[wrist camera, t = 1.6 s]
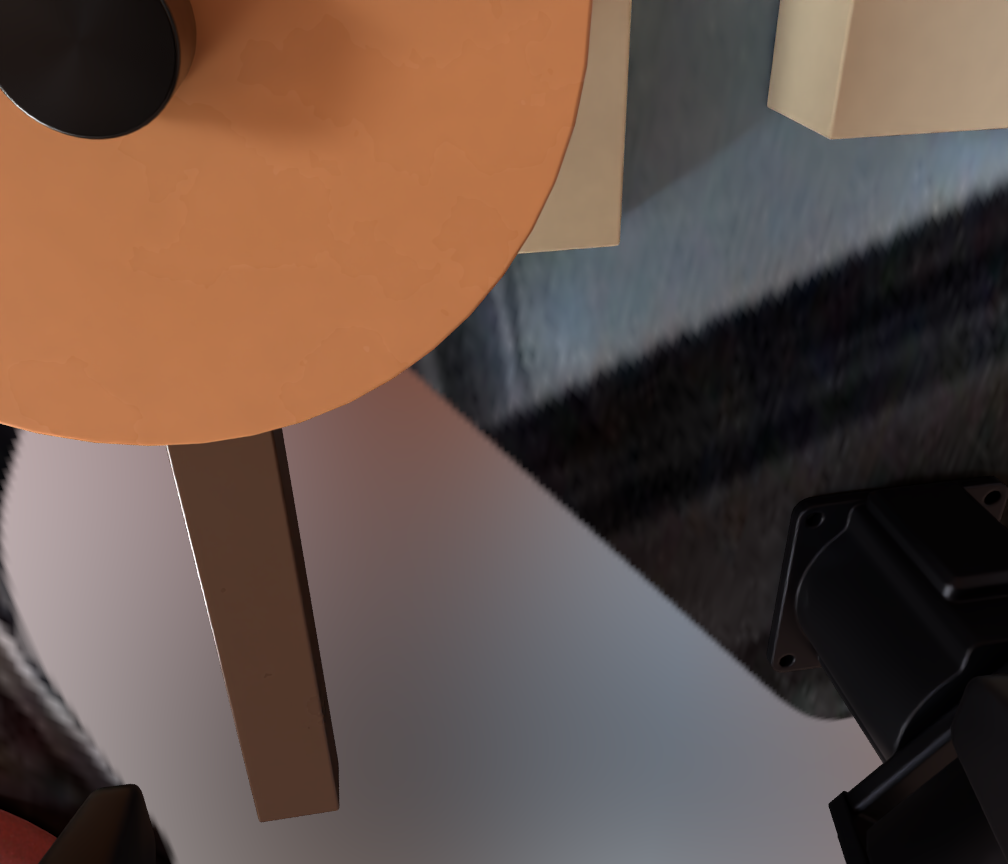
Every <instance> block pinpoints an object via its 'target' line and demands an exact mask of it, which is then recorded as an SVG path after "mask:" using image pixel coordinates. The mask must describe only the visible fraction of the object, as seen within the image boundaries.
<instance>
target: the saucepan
mask: <svg viewBox="0 0 1008 864" xmlns="http://www.w3.org/2000/svg"><path fill="white" fill-rule="evenodd" d="M592 7H593V0H0V424H4V425H8V426H12V427H15V428H19V429H23V430H27V431H30V432H35V433H38V434H44V435H50V436H57V437H63V438H69V439H75V440H81V441H88V442H94V443H109V444H127V445H143V446H157V445H166V449H167V453H168V456H169V461H170V465H171V469H172V473H173V477H174V481H175V484H176V489H177V493H178V497H179V501H180V505H181V509H182V513H183V517H184V521H185V525H186V529H187V533H188V537H189V541H190V545H191V549H192V553H193V557H194V561H195V566H196V570H197V574H198V578H199V582H200V586H201V589H202V594H203V598H204V601H205V605H206V610H207V613H208V618H209V622H210V626H211V630H212V634H213V637H214V642H215V646H216V650H217V654H218V658H219V662H220V666H221V670H222V674H223V678H224V682H225V686H226V690H227V694H228V698H229V702H230V706H231V710H232V714H233V718H234V722H235V726H236V730H237V734H238V738H239V742H240V746H241V750H242V754H243V758H244V763H245V766H246V771H247V774H248V779H249V782H250V786H251V790H252V795H253V799H254V803H255V807H256V810H257V814H258V819H259V821H260V822H266V821H272V820H279V819H285V818H291V817H298V816H304V815H311V814H317V813H324V812H330V811H336V810H338V809H339V767H338V758H337V752H336V746H335V740H334V735H333V729H332V722H331V716H330V711H329V705H328V699H327V693H326V687H325V681H324V675H323V669H322V664H321V657H320V651H319V645H318V639H317V634H316V628H315V622H314V616H313V610H312V604H311V598H310V592H309V586H308V580H307V575H306V568H305V562H304V557H303V551H302V545H301V539H300V533H299V528H298V521H297V515H296V510H295V504H294V497H293V492H292V486H291V480H290V474H289V468H288V462H287V456H286V450H285V445H284V438H283V433H282V427H286V426H289V425H293V424H297V423H300V422H304V421H306V420H309V419H311V418H313V417H316V416H318V415H321V414H323V413H326V412H328V411H331V410H333V409H336V408H338V407H341V406H343V405H346V404H348V403H350V402H352V401H354V400H355V399H357V398H359V397H361V396H363V395H365V394H366V393H368V392H370V391H372V390H374V389H375V388H377V387H379V386H381V385H383V384H385V383H386V382H388V381H390V380H392V379H393V378H395V377H396V376H398V375H399V374H400V373H402V372H403V371H404V370H406V369H407V368H409V367H410V366H411V365H413V364H414V363H415V362H417V361H418V360H420V359H421V358H422V357H424V356H425V355H427V354H428V353H429V352H431V351H432V350H433V349H434V348H436V347H437V346H438V345H439V344H440V343H441V342H442V341H443V340H444V339H445V338H446V337H447V336H448V335H449V334H451V333H452V332H453V331H454V330H455V329H456V328H457V327H458V326H459V325H460V324H461V323H462V322H463V321H464V320H466V319H467V318H468V317H469V316H470V315H471V314H472V313H473V311H474V310H475V309H476V308H477V307H478V305H479V304H480V303H481V302H482V301H483V299H484V298H485V297H486V296H487V295H488V293H489V292H490V291H491V290H492V289H493V287H494V286H495V285H496V284H497V283H498V281H499V280H500V279H501V278H502V277H503V275H504V274H505V272H506V271H507V269H508V268H509V266H510V265H511V263H512V262H513V260H514V258H515V257H516V255H517V254H518V252H519V251H520V249H521V248H522V246H523V244H524V243H525V241H526V240H527V238H528V237H529V235H530V234H531V232H532V230H533V228H534V226H535V224H536V222H537V220H538V218H539V216H540V214H541V212H542V210H543V208H544V205H545V203H546V201H547V199H548V197H549V195H550V193H551V191H552V189H553V187H554V185H555V182H556V180H557V177H558V174H559V171H560V169H561V166H562V163H563V160H564V157H565V154H566V151H567V148H568V145H569V142H570V139H571V136H572V133H573V130H574V127H575V123H576V118H577V113H578V109H579V104H580V99H581V94H582V89H583V84H584V80H585V75H586V70H587V64H588V53H589V41H590V30H591V18H592Z"/></svg>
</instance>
